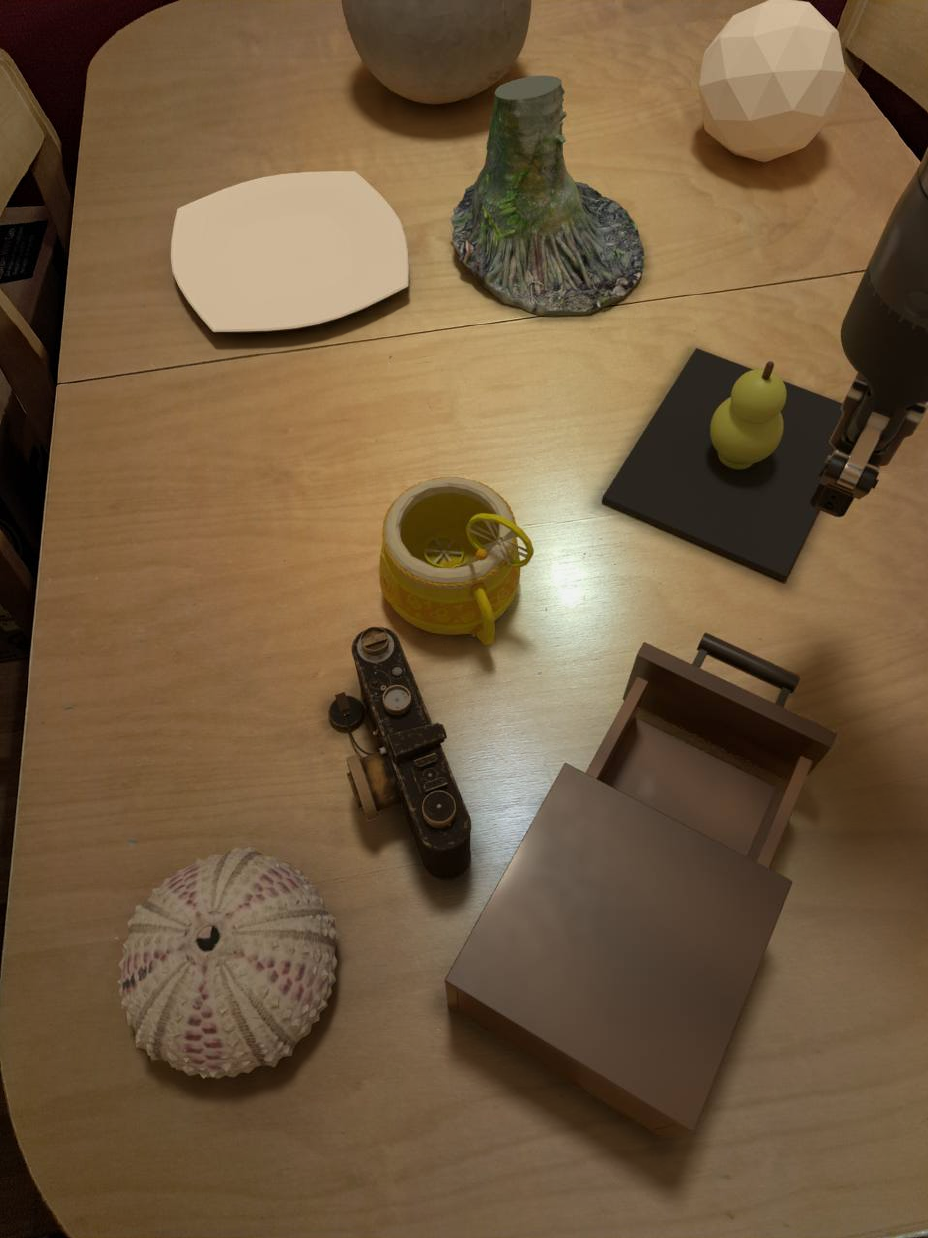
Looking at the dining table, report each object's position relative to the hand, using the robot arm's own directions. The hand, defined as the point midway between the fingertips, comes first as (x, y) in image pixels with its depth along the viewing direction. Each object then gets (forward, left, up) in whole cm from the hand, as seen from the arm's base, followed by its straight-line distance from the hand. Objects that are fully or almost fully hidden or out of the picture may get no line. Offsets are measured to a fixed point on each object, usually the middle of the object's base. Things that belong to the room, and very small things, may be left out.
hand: (828, 503), depth 59 cm
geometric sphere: (+23, -58, -16) cm, 64 cm away
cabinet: (0, +28, -16) cm, 32 cm away
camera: (+18, +24, -16) cm, 34 cm away
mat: (+8, -15, -16) cm, 23 cm away
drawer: (0, +15, -15) cm, 21 cm away
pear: (+8, -15, -15) cm, 22 cm away
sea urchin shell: (+20, +40, -16) cm, 47 cm away
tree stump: (+35, -31, -16) cm, 49 cm away
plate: (+56, -17, -16) cm, 61 cm away
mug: (+22, +9, -16) cm, 29 cm away
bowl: (+59, -51, -16) cm, 80 cm away
